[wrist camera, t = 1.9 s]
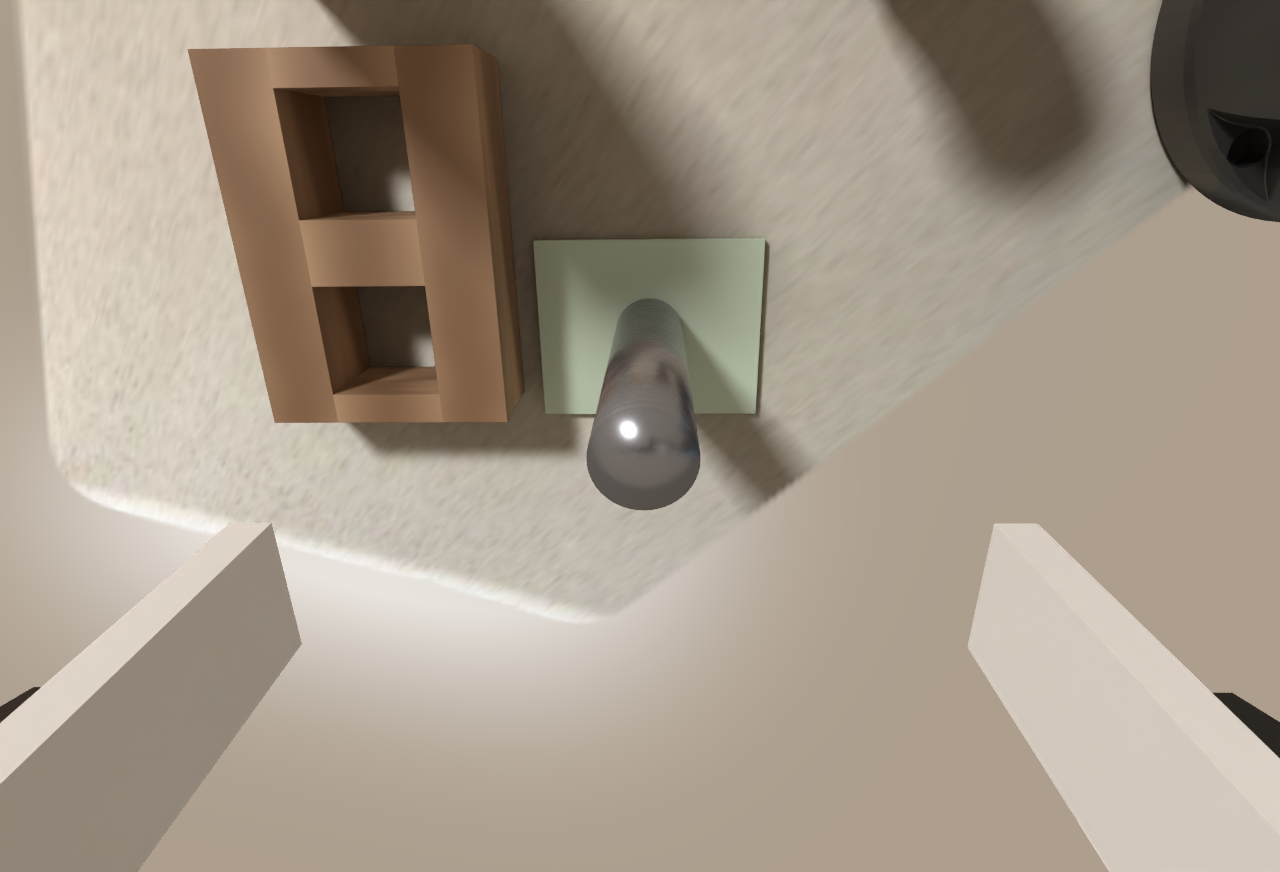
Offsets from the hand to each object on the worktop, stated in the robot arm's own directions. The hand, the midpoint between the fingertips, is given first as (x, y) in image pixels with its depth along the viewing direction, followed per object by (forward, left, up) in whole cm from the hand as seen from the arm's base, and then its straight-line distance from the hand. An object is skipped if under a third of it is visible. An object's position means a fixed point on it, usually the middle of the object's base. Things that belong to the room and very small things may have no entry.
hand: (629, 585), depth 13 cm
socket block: (+11, -4, -20) cm, 23 cm away
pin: (0, 0, -20) cm, 20 cm away
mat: (0, 0, -20) cm, 20 cm away
